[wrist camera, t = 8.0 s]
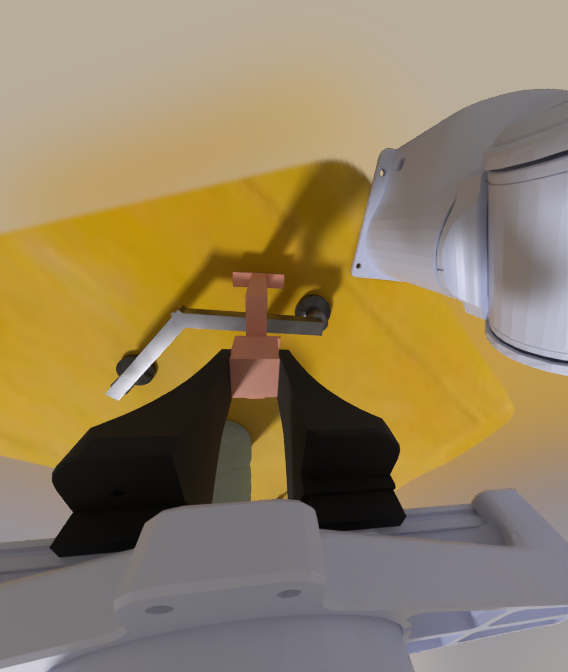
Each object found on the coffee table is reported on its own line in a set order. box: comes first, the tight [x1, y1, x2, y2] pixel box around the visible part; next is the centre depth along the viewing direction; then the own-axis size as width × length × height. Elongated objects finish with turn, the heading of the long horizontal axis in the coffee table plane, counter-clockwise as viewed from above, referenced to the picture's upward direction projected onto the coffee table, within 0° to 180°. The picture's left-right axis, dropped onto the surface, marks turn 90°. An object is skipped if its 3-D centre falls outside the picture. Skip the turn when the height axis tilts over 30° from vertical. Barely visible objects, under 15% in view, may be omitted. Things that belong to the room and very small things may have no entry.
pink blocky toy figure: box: [229, 272, 284, 399], centre depth 15 cm, size 4×7×10 cm, turn 176°
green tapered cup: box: [212, 420, 251, 504], centre depth 23 cm, size 10×10×12 cm
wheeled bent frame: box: [106, 295, 331, 401], centre depth 20 cm, size 12×22×4 cm, turn 84°
